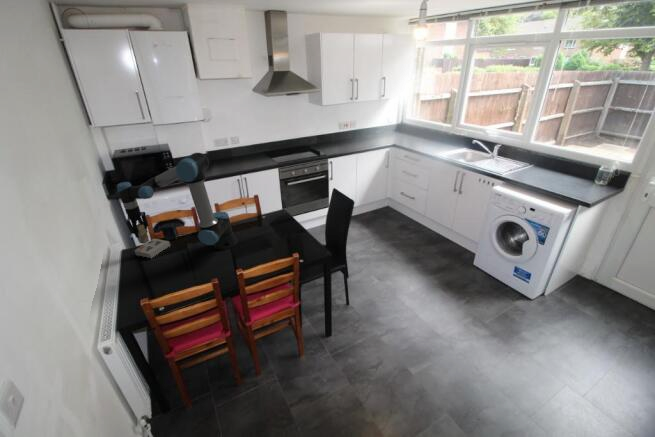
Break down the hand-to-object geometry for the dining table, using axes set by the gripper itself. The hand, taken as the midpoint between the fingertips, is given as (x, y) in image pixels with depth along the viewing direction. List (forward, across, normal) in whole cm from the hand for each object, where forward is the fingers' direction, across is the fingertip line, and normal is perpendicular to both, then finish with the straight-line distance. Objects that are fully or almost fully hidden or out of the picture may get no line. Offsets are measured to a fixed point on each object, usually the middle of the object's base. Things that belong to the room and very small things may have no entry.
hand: (143, 239), depth 208 cm
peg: (+2, 0, 0) cm, 2 cm away
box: (+11, -21, -1) cm, 24 cm away
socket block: (+11, -4, 0) cm, 12 cm away
